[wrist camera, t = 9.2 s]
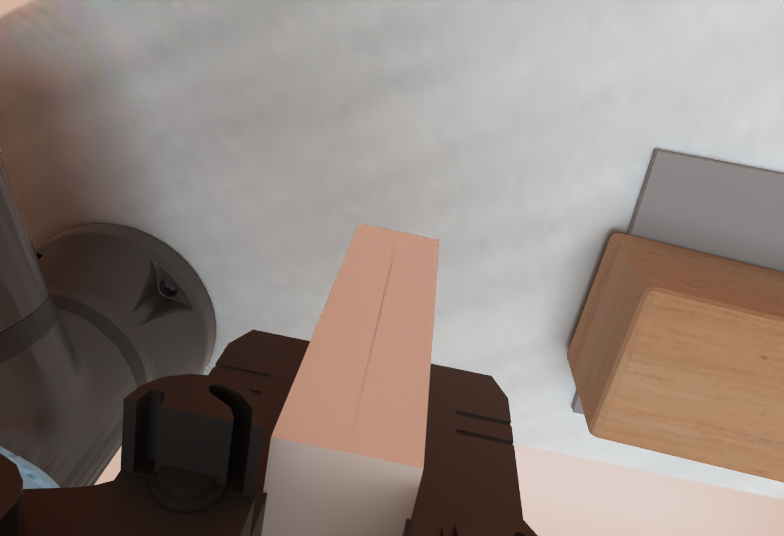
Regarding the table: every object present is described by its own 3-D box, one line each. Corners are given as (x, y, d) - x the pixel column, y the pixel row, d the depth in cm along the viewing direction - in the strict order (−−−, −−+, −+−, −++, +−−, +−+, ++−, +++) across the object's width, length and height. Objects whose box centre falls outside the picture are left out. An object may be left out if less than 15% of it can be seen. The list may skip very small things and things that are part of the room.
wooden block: (610, 228, 47) (901, 299, 47) (563, 356, 51) (832, 421, 51) (648, 288, 38) (1009, 375, 38) (587, 438, 41) (916, 518, 42)
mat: (571, 406, 53) (573, 412, 52) (654, 148, 45) (657, 151, 45) (774, 446, 53) (778, 452, 52) (892, 193, 45) (899, 197, 45)
